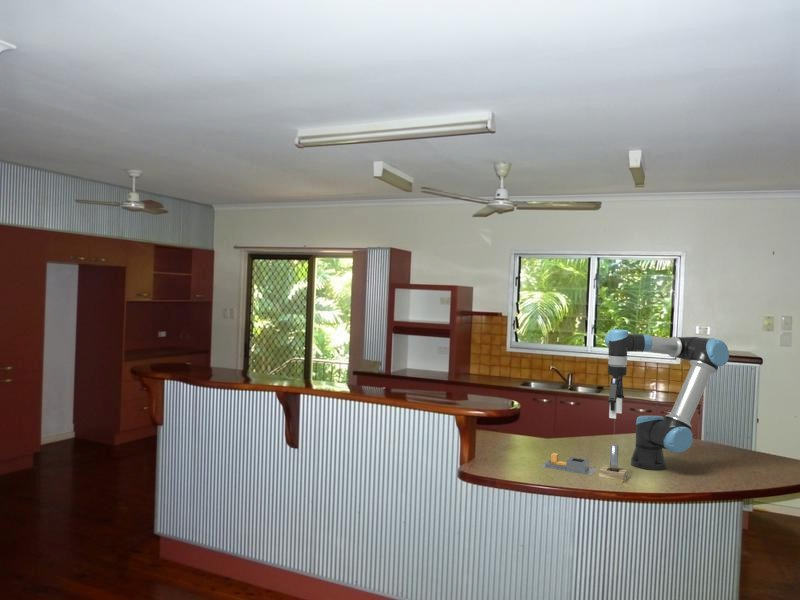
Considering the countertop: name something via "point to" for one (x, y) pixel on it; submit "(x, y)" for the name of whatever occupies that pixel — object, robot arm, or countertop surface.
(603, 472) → the light wood square frame
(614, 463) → the peg
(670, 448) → the robot arm
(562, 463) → the orange block
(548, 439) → the countertop surface
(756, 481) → the countertop surface
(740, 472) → the countertop surface
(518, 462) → the countertop surface
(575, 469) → the socket station
